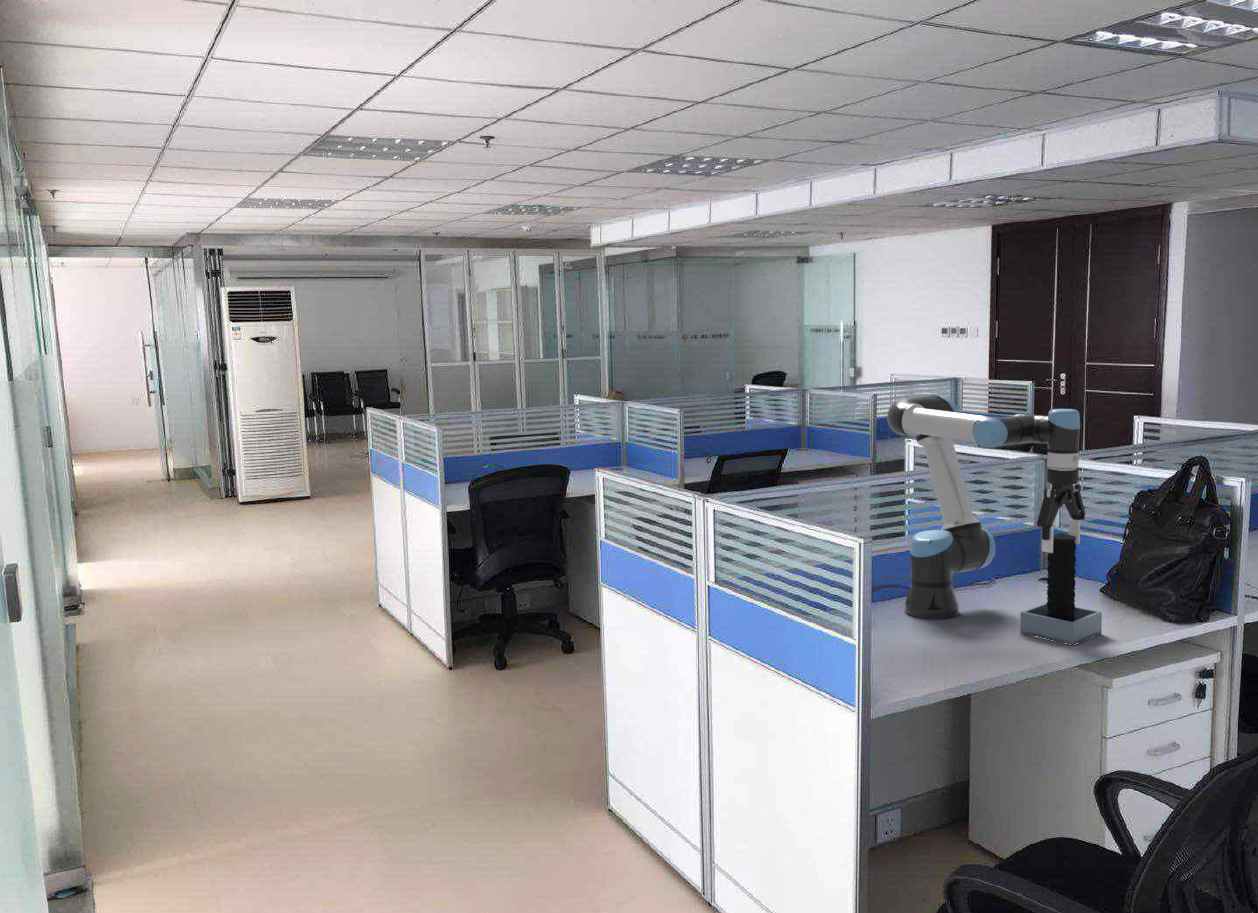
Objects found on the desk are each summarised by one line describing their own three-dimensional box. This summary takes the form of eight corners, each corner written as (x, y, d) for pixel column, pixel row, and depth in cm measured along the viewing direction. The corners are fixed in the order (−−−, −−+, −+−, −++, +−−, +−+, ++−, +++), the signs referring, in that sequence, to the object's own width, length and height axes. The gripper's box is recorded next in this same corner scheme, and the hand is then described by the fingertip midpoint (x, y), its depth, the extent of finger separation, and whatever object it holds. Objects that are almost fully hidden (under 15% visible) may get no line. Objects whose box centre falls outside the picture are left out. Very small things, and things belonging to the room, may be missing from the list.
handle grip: (1044, 635, 255) (1085, 636, 253) (1045, 536, 251) (1087, 536, 249) (1036, 624, 264) (1075, 625, 262) (1037, 529, 261) (1077, 529, 259)
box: (1020, 633, 260) (1020, 612, 259) (1048, 622, 269) (1049, 601, 268) (1073, 646, 248) (1073, 623, 248) (1101, 633, 257) (1101, 611, 256)
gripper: (1051, 475, 243) (1049, 557, 246) (1100, 464, 258) (1098, 542, 261) (1023, 472, 249) (1021, 553, 251) (1073, 461, 264) (1071, 538, 267)
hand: (1060, 547), depth 256 cm, fingers open, 13 cm apart
